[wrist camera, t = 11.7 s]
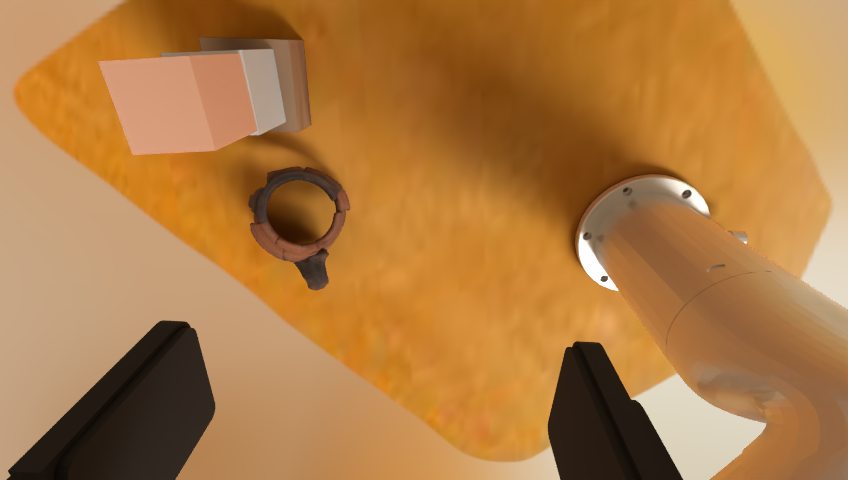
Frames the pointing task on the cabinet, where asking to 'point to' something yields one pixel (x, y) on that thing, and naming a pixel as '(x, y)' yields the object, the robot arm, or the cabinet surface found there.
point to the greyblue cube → (257, 85)
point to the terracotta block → (180, 102)
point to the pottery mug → (302, 255)
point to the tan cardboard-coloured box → (288, 70)
